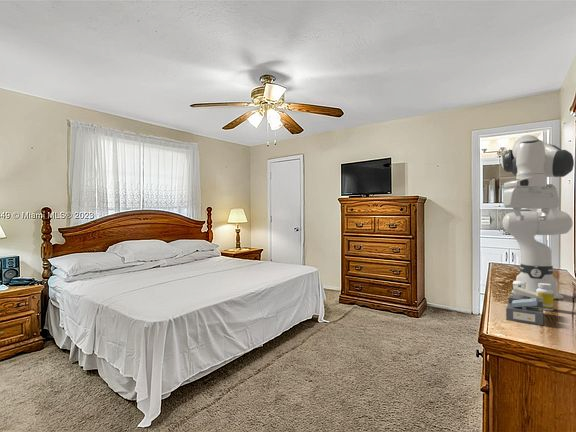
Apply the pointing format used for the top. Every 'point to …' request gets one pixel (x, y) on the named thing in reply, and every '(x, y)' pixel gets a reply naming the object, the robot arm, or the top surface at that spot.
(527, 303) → the rocker front
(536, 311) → the console
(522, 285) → the milkshake
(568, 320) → the top surface
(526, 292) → the rocker rear
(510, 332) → the top surface
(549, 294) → the supplement bottle
